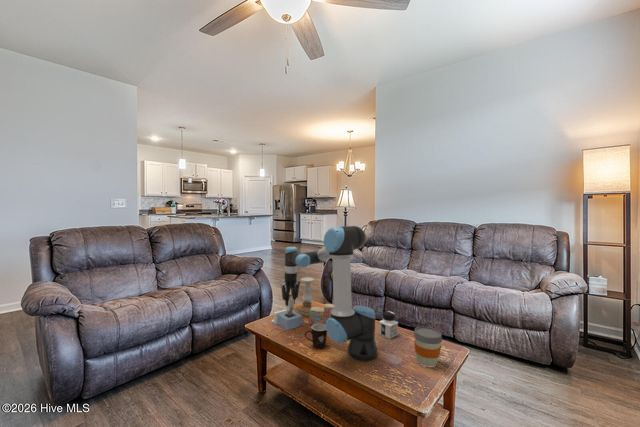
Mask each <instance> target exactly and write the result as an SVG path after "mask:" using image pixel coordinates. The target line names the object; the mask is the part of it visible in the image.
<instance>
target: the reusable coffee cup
mask: <svg viewBox="0 0 640 427" xmlns="http://www.w3.org/2000/svg"><path fill="white" fill-rule="evenodd" d="M413 333H414V334H413V336H414V341H413V342H414V351H415V353H416V354H415V355H416V362H417V361H418V362H419V363H420V364H422V365H426V366H435V365H436V364H437V365H438V359H439V357H440V355H441V350H442V349H441V348H442V345H441V343H442V341H443V338H442V337H443V336H442V333H441V331H440V330H439V329H437V328H433V327H430V326H417V327H415V328H414V332H413ZM418 362H417V363H418ZM419 363H418V364H419ZM420 364H419V365H420Z"/></svg>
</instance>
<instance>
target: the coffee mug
mask: <svg viewBox="0 0 640 427" xmlns="http://www.w3.org/2000/svg"><path fill="white" fill-rule="evenodd" d="M310 328H311V330H307V331H306V332H305V333H304V337H305V339H307V341H310V342H311V343H312V346H313V348H315V349H317V350H319V349H320V350H322V349H324V348H325V347H326V342H327V335H328V333H327V330H326V325H324V324H314V325H311V327H310ZM308 333H310V334H311V337H312V339H311V338H308V337H307V334H308Z"/></svg>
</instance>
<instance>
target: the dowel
mask: <svg viewBox="0 0 640 427" xmlns="http://www.w3.org/2000/svg"><path fill="white" fill-rule="evenodd" d="M289 300H290V311H287V317H288V318H290V317H292V306H293V295H292V294H289Z"/></svg>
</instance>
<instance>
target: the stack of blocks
mask: <svg viewBox="0 0 640 427" xmlns="http://www.w3.org/2000/svg"><path fill="white" fill-rule="evenodd" d="M333 308H334V303H333V304H332V303H325V304H324V307H316V306H312V307H311V309H310V318H309V325H310V326H312V325H314V324H324V325H326V321H327V320H328V319H329V318H331V310H332V309H333Z"/></svg>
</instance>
